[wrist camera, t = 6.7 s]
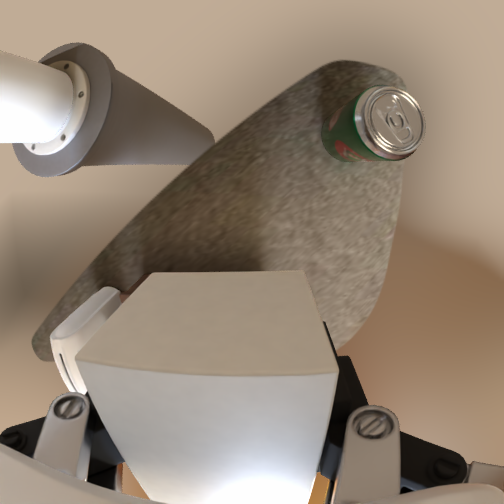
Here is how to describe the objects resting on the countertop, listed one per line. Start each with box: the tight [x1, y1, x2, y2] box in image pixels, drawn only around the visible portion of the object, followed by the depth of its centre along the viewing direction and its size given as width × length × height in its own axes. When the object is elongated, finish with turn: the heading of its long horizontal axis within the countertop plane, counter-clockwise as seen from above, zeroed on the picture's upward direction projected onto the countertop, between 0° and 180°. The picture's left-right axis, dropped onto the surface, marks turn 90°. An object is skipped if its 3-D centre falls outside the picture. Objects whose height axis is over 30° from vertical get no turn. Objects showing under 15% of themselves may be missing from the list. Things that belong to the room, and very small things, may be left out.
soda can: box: [321, 85, 426, 162], centre depth 20 cm, size 5×5×12 cm
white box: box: [75, 270, 339, 504], centre depth 8 cm, size 5×6×5 cm
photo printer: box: [50, 287, 121, 395], centre depth 27 cm, size 10×4×12 cm, turn 8°
